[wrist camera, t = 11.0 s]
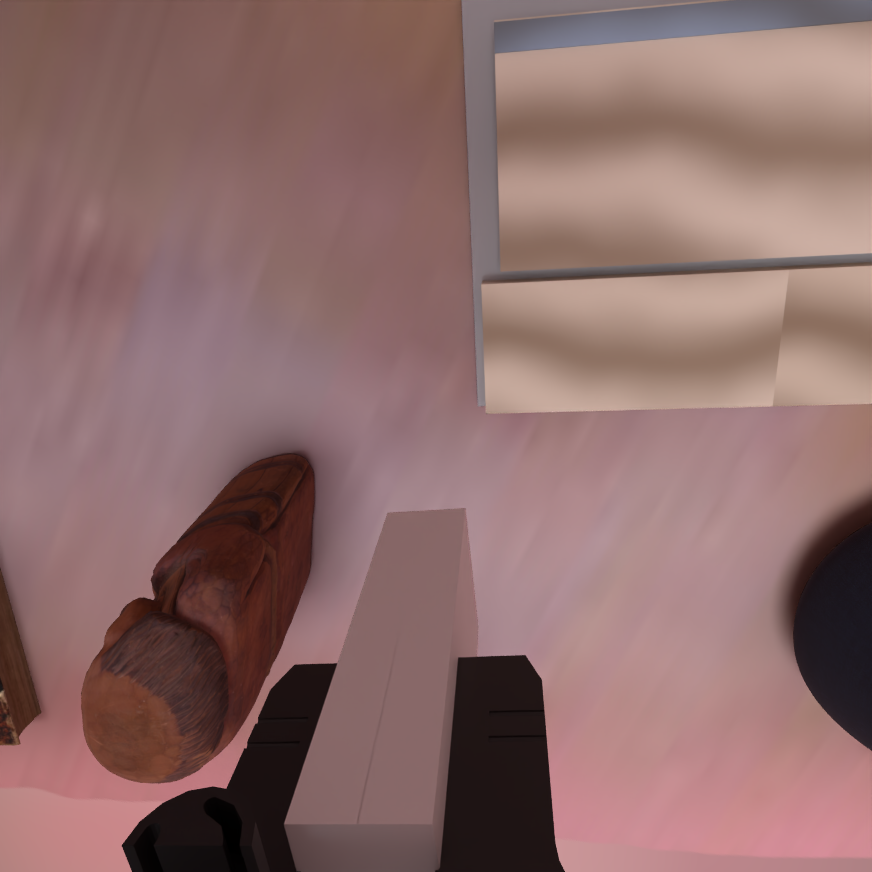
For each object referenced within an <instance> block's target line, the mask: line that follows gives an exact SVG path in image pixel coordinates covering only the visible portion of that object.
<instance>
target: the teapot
mask: <svg viewBox="0 0 872 872" xmlns="http://www.w3.org/2000/svg"><path fill="white" fill-rule="evenodd" d="M793 639H794V650H795V656H796V660H797V664H798V667H799V670H800V672H801V675H802V677H803V679H804V681H805V683H806V685H807V687H808V688H809V690H810V691H811V693H812V694H813V696H814V697H815V699H816V700H817V701H818V703H819V704H820V705H821V706H822V708H823V709H824V710H825V711H826V712H827V713H828V714H829V715H830V716H831V717H832V718H833V720H834V721H836V722H837V723H838V724H839V725H840V726H841V727H842V728H843V729H844V730H845V731H847V732H848V733H849V734H850V735H851V736H853V737H854V738H855V739H856V740H858V741H859V742H860V743H862V744H863V745H864V746H866V747H867V748H869V749H870V750H872V523H870V524H868V525H866V526H864V527H863V528H861V529H859V530H858V531H856V532H855V533H853V534H852V535H850V536H849V537H847V538H846V539H845V540H843V541H842V542H841V543H840V544H839V545H837V546H836V547H835V548H834V549H833V550H832V551H831V552H830V553H829V554H828V555H827V556H826V557H825V558H824V559H823V561H822V562H821V563H820V564H819V566H818V567H817V568H816V570H815V571H814V572H813V574H812V575H811V577H810V579H809V580H808V582H807V584H806V586H805V588H804V590H803V592H802V595H801V597H800V600H799V603H798V607H797V610H796V615H795V621H794V632H793Z"/></svg>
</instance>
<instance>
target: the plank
mask: <svg viewBox="0 0 872 872" xmlns="http://www.w3.org/2000/svg"><path fill="white" fill-rule="evenodd" d="M494 42H495V79H496V117H497V155H498V194H499V232H500V271H501V272H503V271H523V270H544V269H564V268H584V267H604V266H624V265H644V264H664V263H684V262H704V261H724V260H745V259H765V258H785V257H805V256H825V255H845V254H865V253H872V0H708V1H697V2H686V3H675V4H665V5H654V6H643V7H632V8H621V9H611V10H600V11H589V12H578V13H567V14H557V15H546V16H535V17H524V18H513V19H503V20H494Z"/></svg>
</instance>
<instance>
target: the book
mask: <svg viewBox="0 0 872 872" xmlns="http://www.w3.org/2000/svg"><path fill="white" fill-rule="evenodd" d="M40 713H41V710H40V707H39V703H38V700H37V696H36V693H35V689H34V685H33V682H32V678H31V675H30V671H29V668H28V664H27V661H26V657H25V654H24V650H23V647H22V643H21V639H20V636H19V632H18V629H17V625H16V622H15V618H14V615H13V611H12V608H11V604H10V600H9V597H8V593H7V590H6V586H5V583H4V579H3V576H2V572H1V569H0V745H19V744H20V740H19V735H20V734H21V733H22V731H23V730H24V729H25V728H26V727H27V726H28V725H29V724H30V723H31V722H32V721H33V720H34V718H35V717H36V716H37V715H39V714H40Z"/></svg>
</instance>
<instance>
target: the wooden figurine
mask: <svg viewBox="0 0 872 872" xmlns="http://www.w3.org/2000/svg"><path fill="white" fill-rule="evenodd" d="M313 511H314V475H313V471H312V468H311V467H310V465H309V464H308V462H307V461H306V459H304V458H303V457H301V456H298V455H293V454H288V455H281V456H276V457H272V458H268V459H264V460H261V461H258V462H256V463H254V464H253V465H251V466H249V467H248V468H246V469H244V470H243V471H242V472H240V473H239V474H238V475H237V476H235V477H234V478H233V479H232V480H231V481H230V482H229V483H228V484H227V485H226V486H225V487H224V489H223V490H222V491H221V492H220V493H219V494H218V496H217V497H216V498H215V499H214V500H213V502H212V503H211V504H210V505H209V506H208V507H207V509H206V510H205V511H204V512H203V513H202V514H201V515H200V516H199V517H198V518H197V520H196V521H195V522H194V523H193V524H192V525H191V526H190V527H189V528H188V529H187V531H186V532H185V533H184V534H183V535H182V536H181V537H180V539H179V540H178V541H177V543H176V544H175V545H174V546H172V547H171V548H170V550H169V551H168V552H167V553H166V554H165V555H164V556H163V557H162V558H161V559H160V561H159V562H158V563H157V565H156V567H155V569H154V570H153V576H152V578H151V583H152V589H153V593H154V596H155V599H154V600H151V599H147V598H138V599H135V600H133V601H132V602H130V603H129V604H127V605H126V606H125V607H124V608H123V610H122V611H121V614H120V616H119V617H118V618H117V619H116V620H115V621H114V622H113V624H112V625H111V626H110V627H109V628H108V630H107V632H106V635H105V640H104V646H103V648H102V649H101V651H100V652H99V654H98V655H97V656H96V657H95V659H94V660H93V662H92V664H91V666H90V668H89V670H88V671H87V673H86V676H85V679H84V683H83V688H82V692H81V696H82V697H81V709H82V720H83V730H84V736H85V739H86V743H87V745H88V747H89V749H90V751H91V752H92V754H93V755H94V756H95V758H96V759H97V760H98V761H99V763H100V764H101V765H102V766H104V767H105V768H106V769H107V770H108V771H110V772H112V773H114V774H116V775H118V776H120V777H122V778H125V779H127V780H131V781H135V782H139V783H166V782H173V781H177V780H180V779H183V778H184V777H187V776H189V775H191V774H193V773H195V772H196V771H198V770H200V769H201V767H203V765H205V764H206V763H208V762H209V761H210V760H212V759H213V758H214V757H215V756H217V755H218V754H219V753H220V752H221V751H222V750H223V749H224V748H225V747H226V746H227V745H228V744H229V743H230V742H231V741H232V740H233V738H234V737H235V735H236V734H237V732H238V731H239V729H240V728H241V726H242V725H243V723H244V722H245V720H246V718H247V716H248V715H249V713H250V711H251V709H252V708H253V706H254V704H255V702H256V699H257V697H258V695H259V693H260V690H261V688H262V685H263V683H264V681H265V678H266V677H267V676H268V675H269V672H270V669H271V667H272V664H273V662H274V661H275V659H276V657H277V655H278V653H279V651H280V649H281V646H282V644H283V641H284V638H285V635H286V633H287V630H288V628H289V626H290V624H291V622H292V619H293V616H294V614H295V611H296V609H297V606H298V604H299V601H300V598H301V595H302V592H303V590H304V587H305V585H306V582H307V579H308V576H309V572H310V566H311V538H312V519H313Z"/></svg>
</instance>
